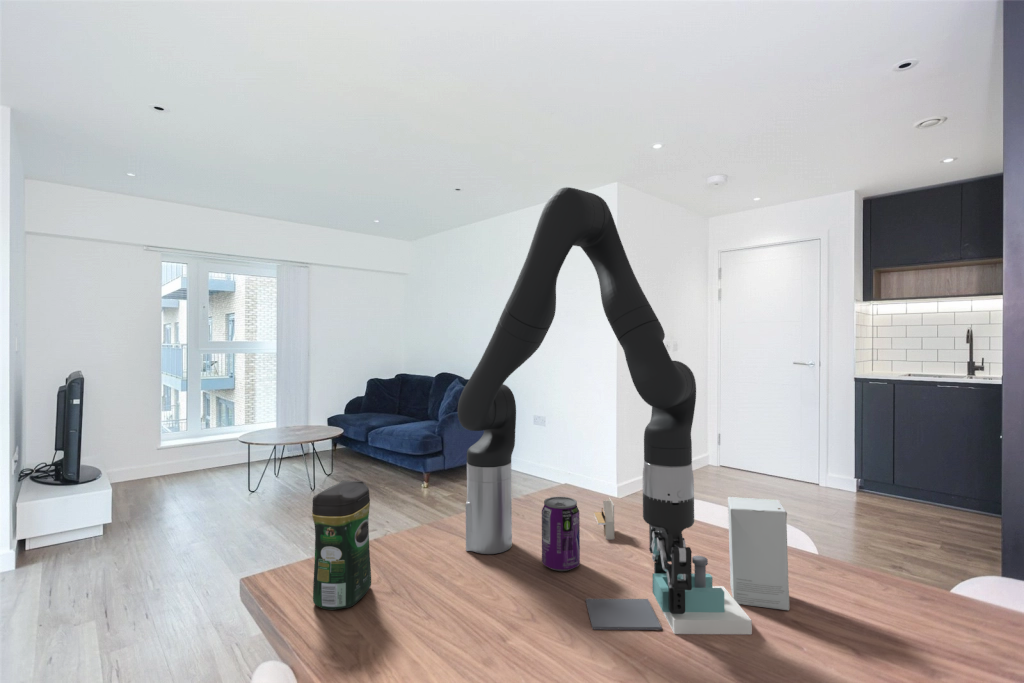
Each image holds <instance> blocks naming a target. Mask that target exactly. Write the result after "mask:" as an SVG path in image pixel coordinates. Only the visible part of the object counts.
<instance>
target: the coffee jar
mask: <svg viewBox="0 0 1024 683" xmlns="http://www.w3.org/2000/svg"><path fill="white" fill-rule="evenodd" d="M370 507H371V498H370V489H369V487H368V485H367V484H366V483H365V482H364V481H361V480H345V479H344V480H341V481H340V482H338V483H335V484H334V485H332V486H329V487H328V488H326V489H324V490H322V491H321V492H318V493H317V494H316V495H314V496H313V497H312V510H311V511H312V512H311V515H312V520H313V523H314V524H313V525H314V533H315V534H314V538H315V539H314V567H313V568H314V569H313V585H312V586H313V587H312V602H313V605H315V606H317V607H319V608H321V609H324V610H328V611H329V610H331V611H334V610H335V611H337V610H340V609H341V610H342V609H347V608H352V606H354V605H356V604H357V603H358V602H359V601H361V600H362V598H363V597H364V596H365V595H366V594H367V592H368V591H369V589H370V588H371V586H372V567H371V554H370V553H371V552H370V531H369V529H370V528H369V526H370V525H369V521H370V520H369V519H370V518H369V515H370Z"/></svg>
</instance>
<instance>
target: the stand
mask: <svg viewBox="0 0 1024 683" xmlns="http://www.w3.org/2000/svg"><path fill="white" fill-rule="evenodd" d="M708 560H709V559H708V558H707V557H705V556H703V555H693V556H691V563H693V564H694V574H695V588H706V574H707V572H706V570H707V568H706V566H708V565H709V564H708V563H709V561H708ZM712 588H722V590H723V591H724V609H725V612H685V613H684V614H672V613H671V612H663V611H662V609H661V607H660V605H659V604H658V606H659V608H660V609H661V611H662V614H663V616H664V618H665V619H666V621H667V623H668V625H669V626H670V629H671V630H672V632H673V635H752V634H753V628H752V625H753V623H752V622H753V621H752V619H751V618H750V616H749V615H748V614H747V613H746V611H745V610H744V609H743V608H742V607H741V605H740V604H738V603H737V602H736V601H735V600H734V598H733V596H732V594H730V592H729V591H728V590H727V589H726V588H725V586H724V585H722V586H721V585H715V586H714V585H712Z"/></svg>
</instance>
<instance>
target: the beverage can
mask: <svg viewBox="0 0 1024 683" xmlns="http://www.w3.org/2000/svg"><path fill="white" fill-rule="evenodd" d="M543 504H544V505H543V507H542V508H541V563H542V564H543V565H544V566H545V567H547V568H549V569H551V570H553V571H557V572H567V571H571V570H573V569H575V568H577V567H578V566H579V565H580V564H581V558H580V557H581V556H580V555H581V545H580V543H581V542H580V540H581V538H580V537H581V536H580V530H581V529H580V526H581V525H580V519H581V518H580V510H579V507H578V502H577V500H576V499H574V498H572V497H568V496H550V497H547V498H545V499H544V501H543Z"/></svg>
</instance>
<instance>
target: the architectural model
mask: <svg viewBox="0 0 1024 683" xmlns="http://www.w3.org/2000/svg"><path fill="white" fill-rule="evenodd" d="M602 503H603V504H602V505H603V507H602V508H601V511H598V512H595V511H594V512H593V516H594V518H595V520H596V523H597V525H598V526H599V525H601V526H603V531H604V532H603V533H604V536H605V535H606V536H605V540H615V504H614V502H613V500H612V499H611V497H608V500H606V499H604V500H602Z"/></svg>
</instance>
